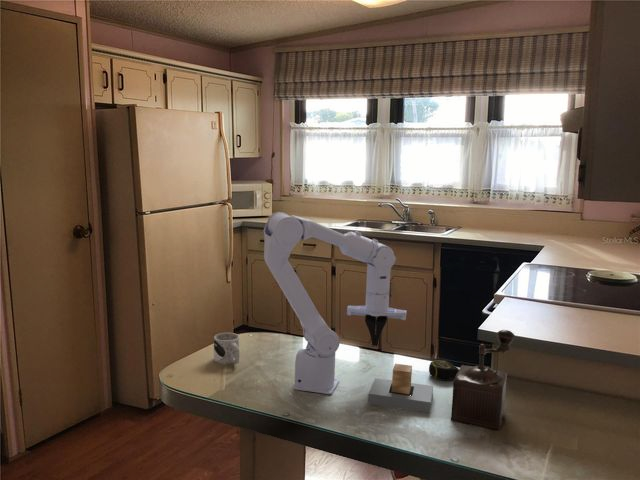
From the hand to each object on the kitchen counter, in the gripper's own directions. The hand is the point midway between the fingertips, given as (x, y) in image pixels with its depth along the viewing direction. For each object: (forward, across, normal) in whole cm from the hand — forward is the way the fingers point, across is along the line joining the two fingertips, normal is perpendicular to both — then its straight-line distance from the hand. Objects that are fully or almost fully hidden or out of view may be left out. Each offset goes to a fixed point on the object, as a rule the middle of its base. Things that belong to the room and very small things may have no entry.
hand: (375, 344), depth 138 cm
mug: (+10, -39, +2) cm, 40 cm away
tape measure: (+10, +18, +7) cm, 21 cm away
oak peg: (+9, +7, -10) cm, 15 cm away
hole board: (+9, +7, -10) cm, 15 cm away
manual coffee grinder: (+10, +25, -11) cm, 29 cm away
